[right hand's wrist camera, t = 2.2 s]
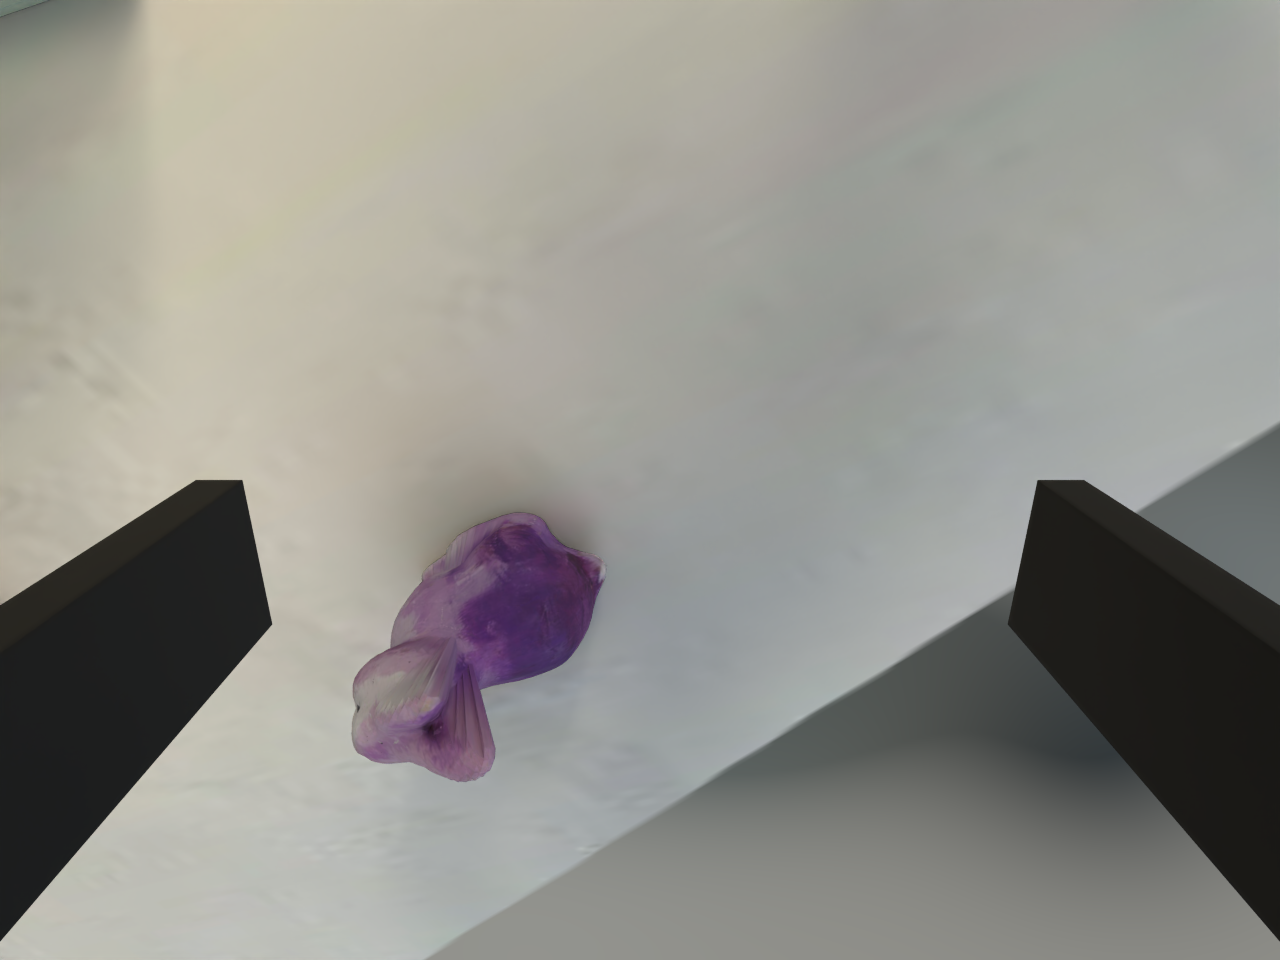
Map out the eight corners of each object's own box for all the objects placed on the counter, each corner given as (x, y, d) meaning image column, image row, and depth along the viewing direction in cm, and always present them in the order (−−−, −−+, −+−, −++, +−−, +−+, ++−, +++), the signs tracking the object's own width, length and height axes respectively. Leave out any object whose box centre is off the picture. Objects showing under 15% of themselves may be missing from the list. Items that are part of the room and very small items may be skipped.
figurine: (394, 620, 43) (277, 823, 29) (462, 475, 40) (367, 625, 26) (540, 683, 45) (496, 903, 31) (617, 548, 42) (607, 726, 28)
